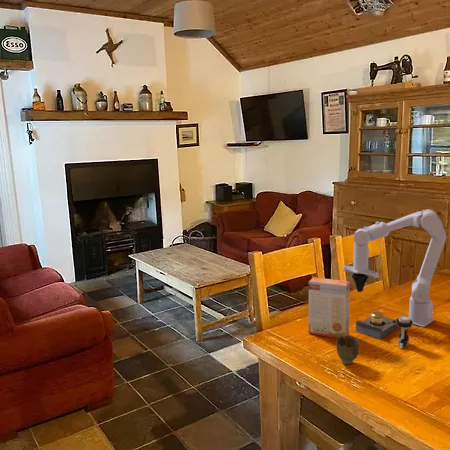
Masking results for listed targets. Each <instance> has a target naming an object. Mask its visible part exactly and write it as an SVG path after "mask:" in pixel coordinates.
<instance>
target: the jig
mask: <svg viewBox="0 0 450 450" xmlns="http://www.w3.org/2000/svg"><path fill="white" fill-rule="evenodd" d="M371 319H372V316H371V315H370V316H368V317H367V318H366V319H364V320H359V319H358V320H356V321H355V332H357V333H361V334H364V335H367V336H369V337H373V338H376V339H377V340H378V339H379V340H381V339H383V338H384V337H386V336H387V335H389V334H391V333H392V332H394V331H396V330H397V329H398V328H399V329H400V327H399V326H398V325H397V322H396V319H393V318H391V317H386V316H384V317H383V322H382V326H375V325H372V324H371Z"/></svg>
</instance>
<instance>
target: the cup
mask: <svg viewBox="0 0 450 450" xmlns="http://www.w3.org/2000/svg"><path fill="white" fill-rule="evenodd" d="M360 343H361V342H360V340H359V339H358V338H357V337H356V338H355V337H353V336H352V337H351V336H350V335H348V336H345V338H344V337H343V336H340V338H339V337H338V338H336V339H335V344H336V352H337V355H338V357H339V358H340V361H341V363H342V364H343V365H345V366H351V365H352V364H353V363H354V361H355V360H356V359H357V357H358V355H359V350H360V349H359V348H360Z"/></svg>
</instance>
